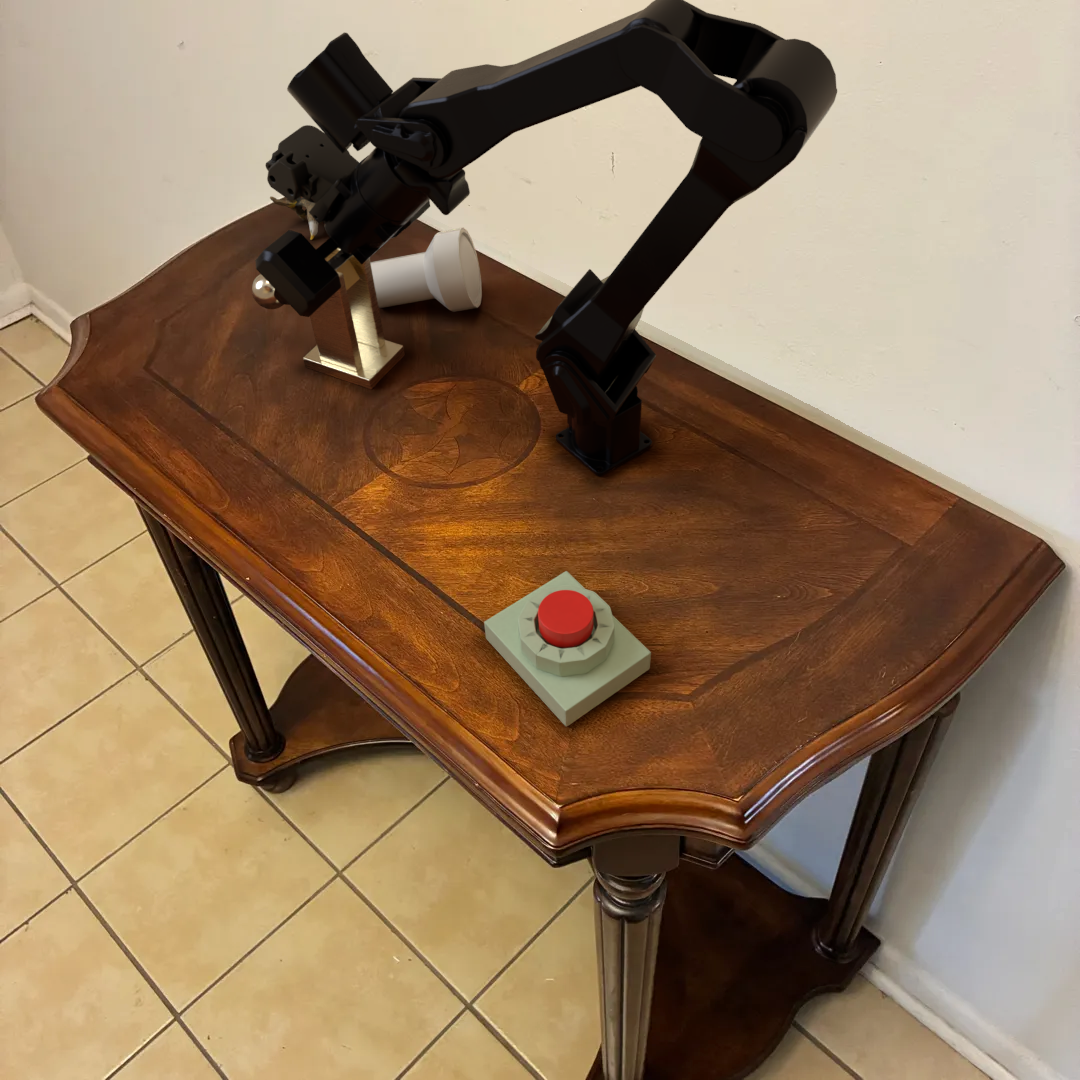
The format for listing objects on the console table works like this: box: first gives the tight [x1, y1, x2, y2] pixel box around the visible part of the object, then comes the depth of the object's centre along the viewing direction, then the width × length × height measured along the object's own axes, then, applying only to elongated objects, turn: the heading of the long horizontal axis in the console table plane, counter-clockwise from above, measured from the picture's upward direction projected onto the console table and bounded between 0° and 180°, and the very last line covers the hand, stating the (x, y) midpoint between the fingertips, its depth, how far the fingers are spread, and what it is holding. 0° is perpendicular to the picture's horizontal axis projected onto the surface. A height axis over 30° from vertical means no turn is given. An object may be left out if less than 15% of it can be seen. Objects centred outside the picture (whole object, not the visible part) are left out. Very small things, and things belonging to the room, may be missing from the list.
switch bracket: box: [302, 248, 405, 390], centre depth 95 cm, size 8×6×12 cm
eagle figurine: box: [269, 196, 320, 241], centre depth 113 cm, size 8×7×9 cm
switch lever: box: [251, 259, 360, 310], centre depth 95 cm, size 13×4×4 cm, turn 62°
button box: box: [483, 570, 652, 728], centre depth 74 cm, size 10×8×4 cm
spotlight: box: [370, 227, 483, 313], centre depth 103 cm, size 8×11×8 cm
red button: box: [538, 590, 594, 648], centre depth 72 cm, size 4×4×2 cm
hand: (308, 273), depth 93 cm, fingers open, 9 cm apart
